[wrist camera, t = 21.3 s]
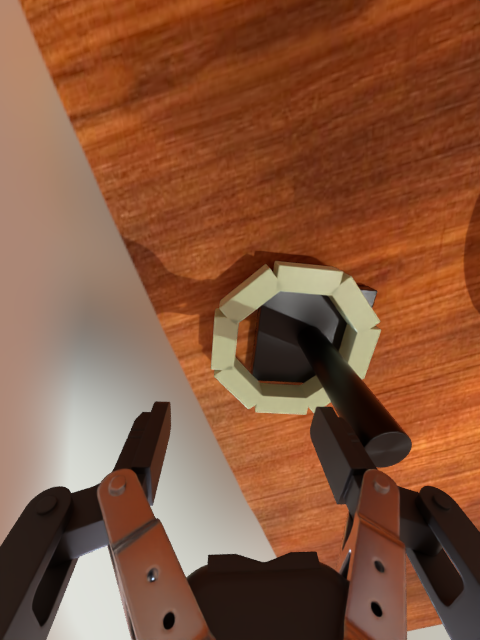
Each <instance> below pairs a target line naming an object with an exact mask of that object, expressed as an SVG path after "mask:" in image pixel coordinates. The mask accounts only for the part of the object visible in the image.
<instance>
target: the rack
mask: <svg viewBox="0 0 480 640" xmlns="http://www.w3.org/2000/svg"><path fill="white" fill-rule="evenodd" d="M358 287H359V289H360V290H361V292H362V293H363V295H364V297H365V298H366V300H367V301H368V303H369V304H370V306H371V308H372V307H373V303H374V300H375V297H376V294H377V290H375V289H372V288H370V287H368V286H358ZM346 325H347V323H346V321H345V320H344V318H343V317H342V316H341V314H340V313H339V311H338V310H337V308H336V307H335V305H334V304H333V303H332V301H331V300H330V298H329V297H328V295H317V294H306V293H295V292H284V291H280V292H278V293H277V294H276V295H274V296H273V297H272V298H271V299H269V300H268V301H267V302H265V303H264V304H263V305H261V306H260V307H259V308H258V316H257V323H256V331H255V339H254V347H253V355H252V363H251V371H250V372H251V374H252V375H253V376H254V377H255V378H256V379H257V380H259V381H279V382H299V383H305V382H306V381H308V380H309V379H311V378H312V377H314V376H315V375H316V376H317V378H318V380H319V381H320V383H321V385H322V387H323V388H324V390H325V392H326V394H327V396H328V397H329V399H330V401H331V403H332V405H333V406H334V408H335V410H336V412H337V413H338V415H339V417H342V418H343V419H344V420H345V421H346V422H348V423H349V424H350V426H351V427H352V429H353V430H354V432H355V435H357V437H358V439H359V440H360V442H361V444H362V445H363V447H364V448H365V450H366V452H367V453H368V455H369V457H370V458H371V460H372V461H373V463H374V465H375V466H376V467H388V466H392V465H395V464H397V463H399V462H400V461H402V460H403V459H404V458H405V457H406V456H407V455H408V454H409V452H410V450H411V447H412V443H411V439H410V438H409V436H408V435H407V434H406V433H405V432H404V430H403V429H402V428H401V427H400V425H399V424H398V423H397V422H396V421H395V419H394V418H393V417H392V416H391V415H390V413H389V412H388V411H387V410H386V409H385V407H384V406H383V405H382V404H381V402H380V401H379V400H378V399H377V398H376V396H375V395H374V394H373V393H372V392H371V390H370V389H369V388H368V387H367V386H366V384H365V383H364V382H363V381H362V380H361V378H360V377H359V376H358V375H357V373H356V372H355V371H354V370H353V369H352V367H351V366H350V365H349V364H348V363H347V361H346V360H345V359H344V358H343V357H342V355H341V354H340V353H339V349H340V346H341V342H342V339H343V336H344V332H345V329H346Z"/></svg>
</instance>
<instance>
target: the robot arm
mask: <svg viewBox="0 0 480 640" xmlns="http://www.w3.org/2000/svg"><path fill="white" fill-rule="evenodd" d="M170 430H171V408H170V402H155V403H154V405H153V408H152V410H151V412H142V413H141V414H140V416H138V417H137V418H136V420H135V421H134V424H133V426H132V428H131V431H130V433H129V435H128V438H127V440H126V442H125V444H124V447H123V449H122V452H121V454H120V456H119V458H118V461H117V463H116V465H115V467H114V469H113V471H112V472H111V473H110V474H108V475H107V476H106V477H105V478H104V479H103V480H102V481H101V483H100V484H97V485H95V486H93V487H90V488H87V489H84V490H81V491H77V492H74V493H71V492H70V490H69V489H67V488H66V487H60V486H59V487H53V488H50V489H47V490H45V491H43V492H42V493H40V494H38V495H37V496H36V497H35V498H33V499H32V500H31V501H30V502H29V504H28V505H27V506H26V508H25V509H24V511H23V512H22V514H21V515H20V517H19V518H18V520H17V522H16V523H15V525H14V526H13V528H12V529H11V531H10V532H9V534H8V535H7V537H6V539H5V540H4V542H3V543H2V545H1V546H0V640H46V639H47V636H48V634H49V631H50V629H51V626H52V624H53V621H54V619H55V616H56V614H57V611H58V608H59V606H60V603H61V601H62V598H63V596H64V593H65V591H66V588H67V585H68V583H69V581H70V578H71V575H72V573H73V571H74V568H75V565H76V563H77V560H78V558H79V557H80V556H82V555H85V554H87V553H90V552H92V551H95V550H97V549H100V548H102V547H105V546H108V550H109V553H110V557H111V561H112V565H113V569H114V572H115V576H116V580H117V584H118V587H119V591H120V595H121V600H122V604H123V608H124V612H125V616H126V620H127V624H128V628H129V631H130V636H131V639H132V640H407V602H406V554H407V556H408V558H409V560H410V562H411V563H412V565H413V567H414V569H415V571H416V573H417V575H418V577H419V579H420V581H421V583H422V585H423V587H424V589H425V590H426V592H427V594H428V596H429V598H430V600H431V602H432V604H433V606H434V608H435V610H436V612H437V614H438V615H439V617H440V619H441V621H442V623H443V625H444V627H445V629H446V631H447V633H448V635H449V636H450V639H451V640H480V532H479V531H478V530H477V528H476V527H475V526H474V525H473V523H472V522H471V521H470V519H469V518H468V517H467V516H466V514H465V513H464V512H463V511H462V509H461V508H460V507H459V505H458V504H457V503H456V502H455V501H454V500H453V499H452V498H451V497H450V496H449V495H448V494H446V493H445V492H443V491H442V490H440V489H438V488H435V487H432V486H424V487H423V488H422V489H421V490H420V492H419V493H418V492H415V491H412V490H408V489H405V488H402V487H399V486H397V485H396V483H395V482H394V481H393V480H392V479H391V478H390V477H389V476H388V475H387V474H385V473H383V472H381V471H379V470H377V468H376V466H375V465H374V463H373V461H372V460H371V458H370V457H369V455H368V453H367V452H366V450H365V448H364V447H363V445H362V444H361V442H360V440H359V439H358V437H357V435H355V432H354V430H353V429H352V427H351V426H350V424H349V423H348V422H346V421H345V420H344V419H343V418H342V417H338V416H337V415H336V413H335V411H334V410H333V408H332V407H319V406H318V407H316V409H315V413H314V416H313V420H312V424H311V428H310V435H311V440H312V442H313V445H314V447H315V450H316V452H317V455H318V457H319V460H320V462H321V465H322V467H323V470H324V472H325V475H326V478H327V480H328V483H329V485H330V488H331V490H332V493H333V495H334V498H335V500H336V503H337V504H346V505H347V507H348V510H349V511H348V513H347V518H346V523H345V528H344V533H343V538H342V543H341V549H340V554H339V558H338V561H337V565H336V568H335V570H334V569H333V568H331V567H329V566H327V565H325V564H323V563H321V562H319V559H318V556H317V552H290V553H288V554H285V555H283V556H280V557H278V558H276V559H273V560H270V561H268V562H260V561H257V560H254V559H250V558H247V557H244V556H241V555H237V554H222V555H221V554H220V555H208V565H205V566H203V567H201V568H199V569H197V570H195V571H194V572H193V573H191V574H190V575H189V576H188V577H186V576H185V574H184V572H183V570H182V568H181V565H180V563H179V561H178V559H177V556H176V554H175V552H174V550H173V547H172V545H171V543H170V541H169V539H168V536H167V534H166V532H165V530H164V527H163V525H162V523H161V522H160V520H159V519H158V518H157V519H156V518H155V516H154V514H153V512H152V509H151V507H150V506H152V505H153V503H154V499H155V494H156V490H157V486H158V482H159V478H160V474H161V469H162V466H163V461H164V457H165V453H166V449H167V445H168V441H169V436H170ZM443 548H444V550H445V551H446V553H447V554H446V553H445V551H444V550H443ZM447 555H448V556H449V558H450V559H451V561H452V562H453V564H454V565H455V567H456V569H457V570H458V572H459V573H458V572H457V570H456V569H455V567H454V565H453V564H452V562H451V561H450V559H449V558H448V556H447ZM459 574H460V575H459Z"/></svg>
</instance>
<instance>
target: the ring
mask: <svg viewBox="0 0 480 640" xmlns="http://www.w3.org/2000/svg"><path fill="white" fill-rule="evenodd" d="M280 291H284V292H295V293H306V294H317V295H328V297H329V298H330V300H331V301H332V303H333V304H334V305H335V307H336V308H337V310H338V311H339V313H340V314H341V316H342V317H343V318H344V320H345V321H346V323H347V325H346V329H345V332H344V336H343V339H342V342H341V346H340V349H339V353H340V354H341V355H342V357H343V358H344V359H345V360H346V361H347V363H348V364H349V365H350V366H351V367H352V369H353V370H354V371H355V372H356V373H357V375H358V376H359V377H360V378H361V379H364V377H365V374H366V372H367V369H368V366H369V363H370V360H371V357H372V354H373V352H374V349H375V346H376V343H377V340H378V337H379V335H380V332H381V329H379V328H378V327H377V326H375V325H376V324H378V323H380V320H379V319H378V317H377V316H376V314H375V312H374V311H373V309H372V308H371V306H370V304H369V303H368V301H367V300H366V298H365V297H364V295H363V293H362V292H361V290H360V289H359V287H358V286H357V284H356V282H355V281H354V279H353V278H352V276H350V275H348V274H346V273H344V272H343V271H341V270H339V269H337V268H335V267H332V266H322V265H312V264H302V263H292V262H281V261H275V262H274V269H273V272H272V270H271V269H270V268H269V267H268V265H267V264H265V265H264V266H262V267H261V268H260V269H259V270H257V271H256V272H255V273H254V274H252V275H251V276H250V277H249V278H247V279H246V280H245V281H244V282H242V283H241V284H240V285H239V286H237V287H236V288H235V289H234V290H233V291H231V292H230V293H229V294H228V295H226V296H225V297H224V298H223V299H221V300H220V304H219V309H218V308H216V309H215V316H214V330H213V344H212V359H211V369H214V377H215V378H216V379H217V380H218V381H219V382H220V383H221V384H222V385H223V386H225V387H226V388H227V389H228V390H229V391H230V392H231V393H232V394H233V395H234V396H235V397H236V398H237V399H238V400H239V401H240V402H241V403H242V404H243V405H244V406H245V407H247V408H248V409H250V408H252V407H253V406H255V412H262V413H282V414H302V415H306V413H307V409H308V407H309V408H310V409H311V410H312V412H313V413H314V412H315V409H316V407H318V406H319V407H324V406H326V405H327V404H329V403H331V401H330V399H329V397H328V396H327V394H326V392H325V390H324V388H323V387H322V385H321V383H320V381H319V380H318V378H317V376H316V375H315V376H314V377H312V378H311V379H309V380H308V381H306V382H305V383H303V384H302V385H287V384H270V383H260V382H259V381H258V380H257V379H256V378H255V377H254V376H253V375H252V374H251V373H250V372H249V371H248V370H247V369H246V368H245V367H244V366H243V365H242V364H241V363H240V362H239V361H238V360H237V359H236V357H235V353H236V344H237V335H238V326H239V322H241V321H242V320H243V319H244V318H246V317H247V316H248V315H250V314H251V313H252V312H254V311H255V310H256V309H257V308H259V307H260V306H261V305H263V304H264V303H265V302H267V301H268V300H269V299H271V298H272V297H273V296H274V295H276V294H277V293H278V292H280Z"/></svg>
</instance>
